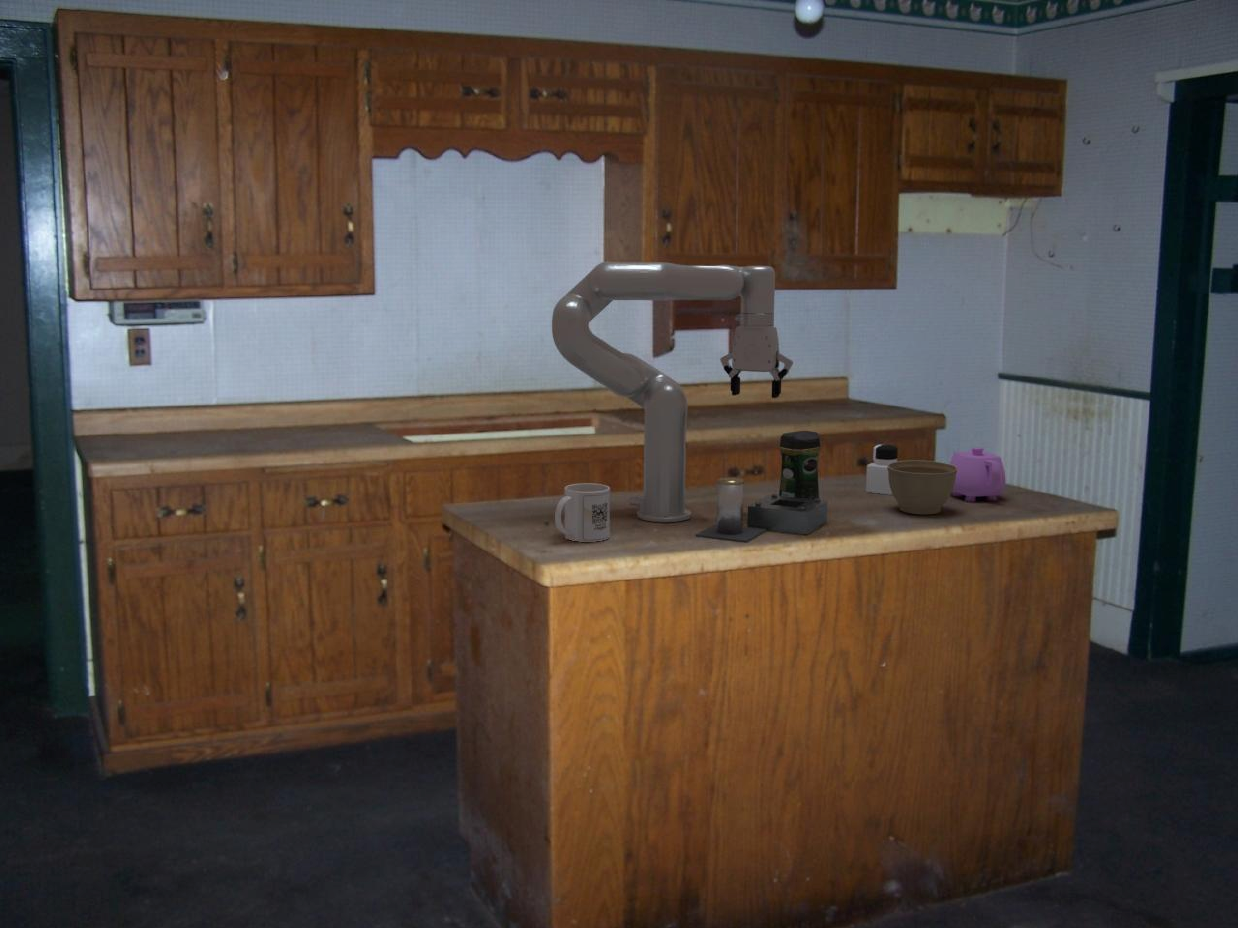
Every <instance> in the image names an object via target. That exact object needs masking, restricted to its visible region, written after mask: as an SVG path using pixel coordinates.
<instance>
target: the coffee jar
mask: <svg viewBox="0 0 1238 928" xmlns="http://www.w3.org/2000/svg"><path fill="white" fill-rule="evenodd" d="M779 451H780V455H781V473H780V480H779V481H780V482H779V492H778V496H786V497H796V498H806V499H815V498H819V499H820V489H819V487H820V486H819V464H818V463H819V455H820V451H821V438H820V435H819V433H818V432H816V431H810V430H800V431H792V432H785V433H782V434H781V436H780V441H779Z"/></svg>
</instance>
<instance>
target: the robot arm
mask: <svg viewBox="0 0 1238 928" xmlns="http://www.w3.org/2000/svg"><path fill="white" fill-rule="evenodd" d="M775 282H776V272H775V269H774V268H773V267H772V266H768V265H747V266H737V265H731V264H719V265H689V264H688V265H687V264H677V263H672V262H665V261H664V262H661V261H659V262H658V261H657V262H656V261H653V262H652V261H650V262H649V261H647V262H646V261H640V262H639V261H610V260H609V261H608V260H607V261H602V262H600V263H599V264H596V266H594V267H593V268H592V270H590V271H589V273H588V274H587V275H586V276H584V277H583V278H582V279H581V280H580V281H579V282H578V283H577V284H576V285H574V287H572V288H571V290H569V291H568V292H567V293H566V294H565V295H563V297H561V298H560V300H559V301H557V303H556V304H555V307H554V308H553V311H552V316H551V317H552V319H551V334H552V338H553V342H554V345H555V348H556V350H557V351H558V352H559V354H560V355H561V356H562V357H563V358H564V360H566V361H567V362H568V363H569V364H571V365H572V366H574V367H575V368H576V369H577V370H579V371H581V372H582V373H584V374H585V375H587V376H588V377H590V378H591V379H593V380H594V381H595V382H598V383H599V384H601V385H602V386H603V387H605V388H607V389H608V390H610V392H612V393H613V394H615V395H616V396H618V397H622V398H626V399H628V400H629V401H631V402H633V403H635V404H636V405H637V406H640V407H641V408H643V410H644V433H643V434H644V435H643V436H644V437H643V438H644V442H643V446H644V447H643V448H644V449H643V452H644V453H643V454H644V455H643V457H644V458H643V460H644V461H643V472H644V473H643V496H641V497H640V496H638V495H637V496H636V495H630V496H629V500H628V501H629V505H630V506H634V507H635V506H637V507H638V508H639V509H638V510H637V512H636V516H637V518H639V519H640V520H643V521H646V522H654V523H677V522H684V521H687V520H690V519H691V518H692V512H691V510H689V509H687V508H685V507H686V455H687V450H686V443H687V420H688V399H687V395H686V393H685V391H684V389H683V388H682V386H681V385H680V384H679V383H678V382H677V380H675V379H673V378H672V377H670V376H668V375H667V374H666V373H664V372H662V371H661V370H659V369H657V368H655V367H654V366H652V365H651V364H649V363H648V362H646V361H645V360H643V359H641V358H640V357H638V356H636V355H634V354H632V353H630V352H628V353H627V352H621V351H620V350H618V349H617V348H615V347H613V346H612V345H610V344H609V343H607V342H606V341H605V340H603V339H601V338H599V337H598V336H596V335H595V334H594V333H593V332H592V330H591V329H590V323H591V321H592V320H594V318H596V317H597V316H598V315H599V314H601V312H603V310H604V309H606V308H607V306H609V305H610V304H611V303H612V302H613V301H666V302H667V301H683V300H686V301H691V300H692V301H728V300H734V299H736V298H737V297H740V312H739V314H736V315H735V317H734V320H735V321H736V322H739V325H740V326H736V328H735V333H734V339H733V347H732V352H730V353H728V354H726V355H724V356H722V357H720V358H719V360H720V363H721V366H722V367H723V370H724V372H725V373H726V374H727V375H728V377H729V378H730V391H731V396H738V395H740V394H741V377H740V376H739V375H740V373H742V372H755V373H756V372H758V373H768V372H769V373H770V375H771V376H772V379H773V380H772V381H771V398H772V399H777V398H779V397H780V395H781V393H782V380H783V379H784V378H785V377H786V376H787V375H788V374H790V373H789V372H790V370H791V368H792V367H793V365H794V361H793V360H792V359H790V358H788V357H787V356H784V355H783V354H781V353H780V344H779V343H780V342H779V335H778V330H777V327H775V326H774V325H775V296H776V295H775V291H776V290H775V289H776V288H775V287H776V286H775V285H776V283H775ZM729 361H731V364H730V363H729ZM780 362H781V363H782V364H783V365H784V366H783V368H782V369H781V371H780V369H779V367H780Z"/></svg>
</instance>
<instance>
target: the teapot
mask: <svg viewBox="0 0 1238 928" xmlns="http://www.w3.org/2000/svg"><path fill="white" fill-rule="evenodd" d="M950 459H951V460H950V462H949V464H950V465H953V466H955V467H957V473H956V479H955V484H954V487H953V490H952V492H953V493H952V494H951V496H952V497H963V496H965V498H964V501H965V502H976V497H986V499H987V500H988V499H989V500H988V501H998V500H997V499H998V498H997V496H1001V495H1003V493H1004V491H1005V490H1006V473H1005V469H1004V468H1005V467H1004V465H1003V464H1004V463H1003V461H1002V458H1001V456H999V455H997V454H993V453H991V452H988V451H984V448H983V447H980V446H974V447H971V451H969V450H968V451H953V455H952V457H951V458H950Z"/></svg>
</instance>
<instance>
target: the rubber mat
mask: <svg viewBox="0 0 1238 928" xmlns="http://www.w3.org/2000/svg"><path fill="white" fill-rule="evenodd" d="M765 531H766V532H768V530H767V529H759V528H751V527H747V526H743V532H742V533H741V534H736V535H727V534H720V533H718V532H717V523H715V524H713V525H712V526H708V527H707V528H706V529H703V530H701V531H700V532H697V533H696V534H695V537H697V538H698V537H699V538H707V539H715V540H723V541H732V542H737V543H738V542H739V543H749V542H751V541H752V540H755V539H756V538H758V537H759V536H761V535H762V533H763V534H764V533H766V532H765Z"/></svg>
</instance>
